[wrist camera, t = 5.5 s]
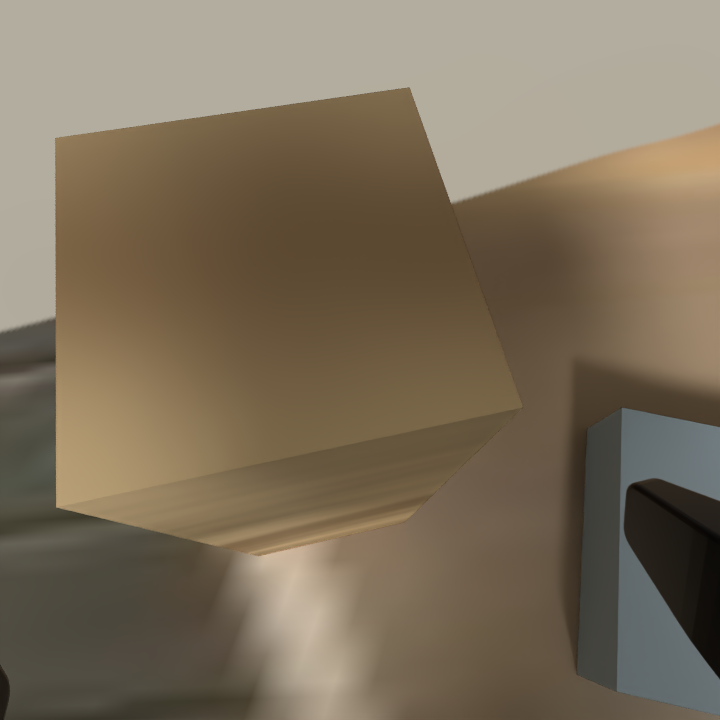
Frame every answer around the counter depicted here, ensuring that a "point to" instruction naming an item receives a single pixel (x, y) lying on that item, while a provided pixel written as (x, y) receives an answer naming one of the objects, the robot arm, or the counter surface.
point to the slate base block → (623, 569)
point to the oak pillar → (267, 325)
